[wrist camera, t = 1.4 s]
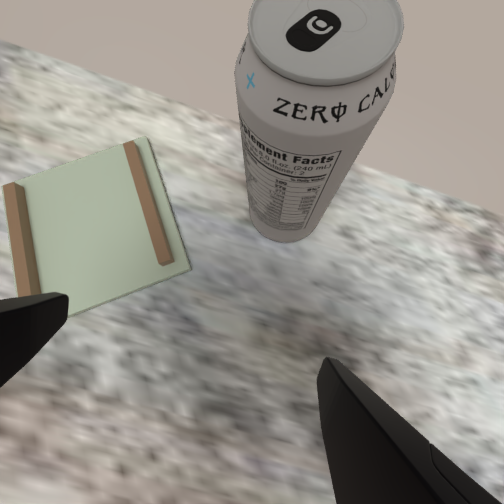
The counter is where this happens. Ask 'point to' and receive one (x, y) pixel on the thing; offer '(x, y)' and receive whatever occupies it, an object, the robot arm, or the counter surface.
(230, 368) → the counter surface
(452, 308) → the counter surface
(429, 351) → the counter surface
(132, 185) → the mat
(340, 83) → the energy drink can
